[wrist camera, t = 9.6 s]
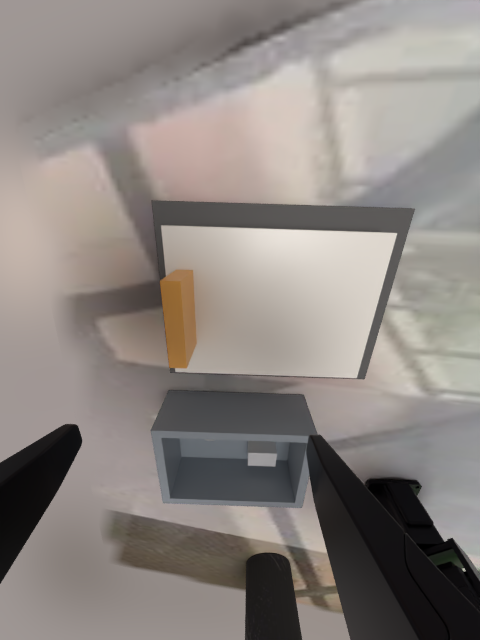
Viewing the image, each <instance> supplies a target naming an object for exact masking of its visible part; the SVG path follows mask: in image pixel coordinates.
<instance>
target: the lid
mask: <svg viewBox="0 0 480 640" xmlns="http://www.w3.org/2000/svg"><path fill="white" fill-rule="evenodd" d="M161 230H162V241H163V251H164V261H165V271H166V277H165V278H163V279H162V280H160V287H161V296H162V305H163V314H164V324H165V333H166V342H167V351H168V360H169V368H175V372H189V373H218V374H248V375H277V376H306V377H336V378H357V376H358V372H359V368H360V365H361V361H362V358H363V354H364V351H365V347H366V343H367V340H368V336H369V333H370V329H371V325H372V322H373V318H374V315H375V311H376V308H377V304H378V300H379V297H380V293H381V290H382V286H383V283H384V279H385V275H386V272H387V268H388V265H389V261H390V258H391V254H392V250H393V247H394V243H395V240H396V236H397V233H387V232H362V231H331V230H300V229H269V228H238V227H207V226H176V225H161Z"/></svg>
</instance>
